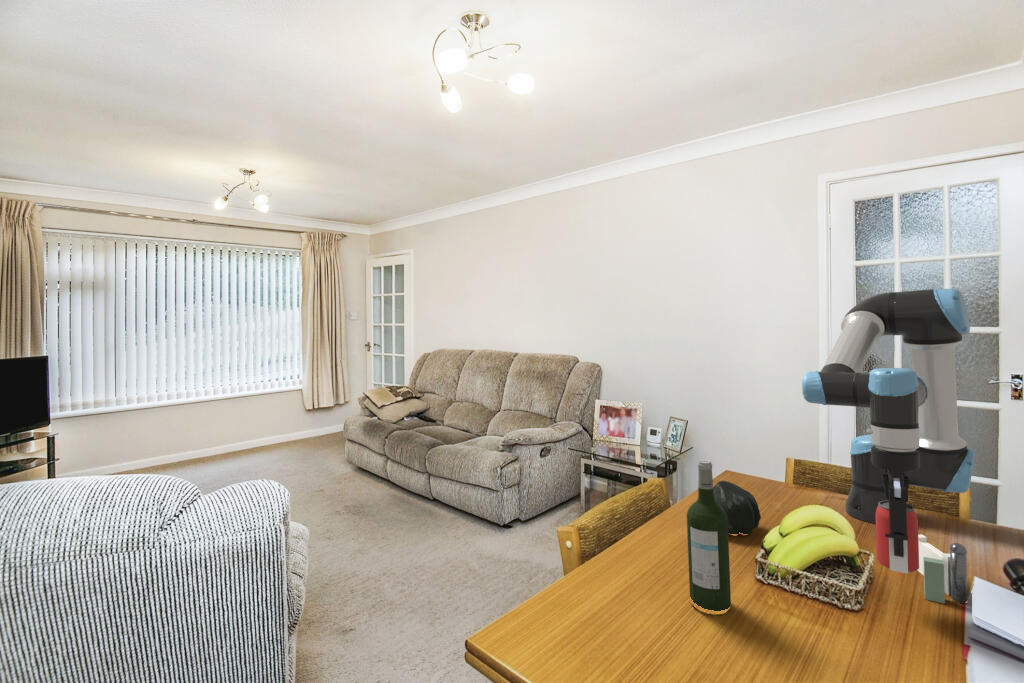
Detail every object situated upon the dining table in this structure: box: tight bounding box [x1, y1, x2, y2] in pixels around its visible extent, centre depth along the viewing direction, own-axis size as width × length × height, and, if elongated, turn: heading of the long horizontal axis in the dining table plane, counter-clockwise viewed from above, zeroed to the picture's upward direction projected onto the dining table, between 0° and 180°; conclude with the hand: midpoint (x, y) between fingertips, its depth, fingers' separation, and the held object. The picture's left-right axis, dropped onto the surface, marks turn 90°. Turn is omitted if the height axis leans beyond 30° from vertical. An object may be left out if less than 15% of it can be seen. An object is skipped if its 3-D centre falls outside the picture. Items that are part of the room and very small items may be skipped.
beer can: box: [875, 500, 919, 573], centre depth 95 cm, size 7×7×12 cm
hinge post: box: [949, 542, 968, 605], centre depth 98 cm, size 3×3×12 cm
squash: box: [713, 480, 762, 535], centre depth 135 cm, size 14×15×15 cm
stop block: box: [923, 557, 946, 604], centre depth 99 cm, size 2×3×8 cm, turn 54°
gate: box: [916, 533, 951, 596], centre depth 105 cm, size 11×2×8 cm, turn 169°
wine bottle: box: [686, 459, 732, 611], centre depth 100 cm, size 8×8×30 cm
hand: (897, 563), depth 96 cm, fingers closed on beer can, 6 cm apart
